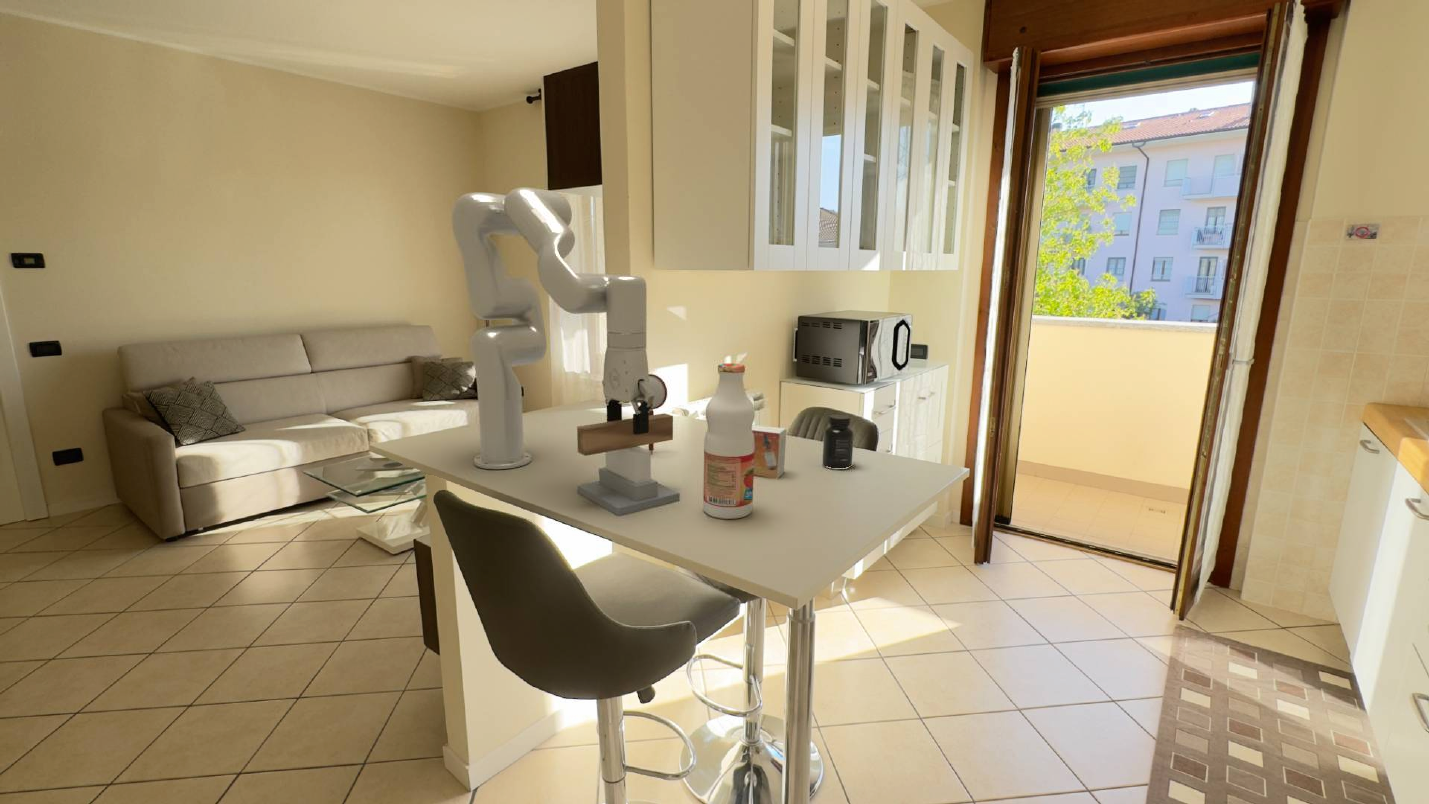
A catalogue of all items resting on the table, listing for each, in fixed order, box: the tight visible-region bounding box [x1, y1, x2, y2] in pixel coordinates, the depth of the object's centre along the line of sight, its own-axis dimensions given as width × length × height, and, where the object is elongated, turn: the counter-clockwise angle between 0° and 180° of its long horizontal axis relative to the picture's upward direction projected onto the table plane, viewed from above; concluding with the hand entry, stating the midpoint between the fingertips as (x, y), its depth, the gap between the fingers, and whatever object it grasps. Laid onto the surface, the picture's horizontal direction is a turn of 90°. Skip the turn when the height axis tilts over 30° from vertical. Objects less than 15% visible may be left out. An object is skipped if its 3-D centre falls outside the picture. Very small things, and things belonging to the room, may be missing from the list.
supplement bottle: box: [822, 414, 855, 468], centre depth 152 cm, size 7×7×12 cm
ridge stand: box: [576, 446, 681, 517], centre depth 128 cm, size 16×14×10 cm
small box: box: [752, 424, 787, 479], centre depth 145 cm, size 8×6×10 cm
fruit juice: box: [702, 362, 756, 520], centre depth 120 cm, size 9×9×28 cm
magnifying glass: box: [639, 373, 668, 455], centre depth 158 cm, size 9×2×20 cm, turn 66°
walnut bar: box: [576, 413, 674, 457], centre depth 127 cm, size 3×20×5 cm, turn 130°
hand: (627, 428), depth 127 cm, fingers open, 9 cm apart
